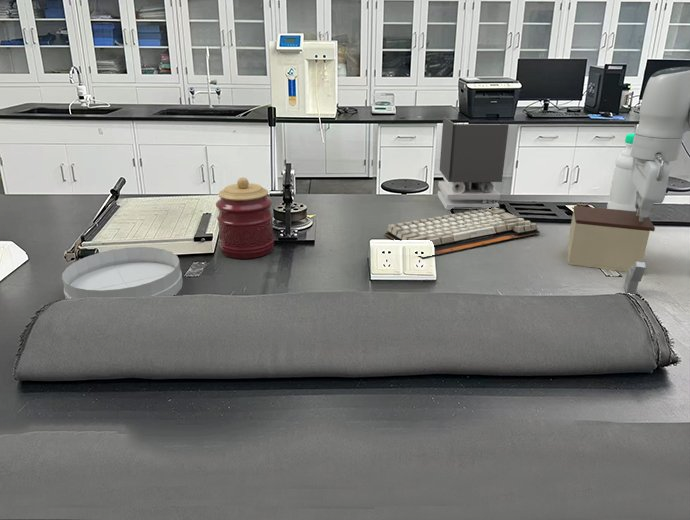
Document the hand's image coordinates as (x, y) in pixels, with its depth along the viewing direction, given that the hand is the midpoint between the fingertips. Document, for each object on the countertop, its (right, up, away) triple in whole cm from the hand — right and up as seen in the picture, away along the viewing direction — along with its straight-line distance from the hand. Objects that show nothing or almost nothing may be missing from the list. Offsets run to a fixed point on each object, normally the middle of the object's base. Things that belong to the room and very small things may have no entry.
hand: (640, 212), depth 117 cm
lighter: (-8, -18, -10) cm, 22 cm away
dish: (-109, -17, -9) cm, 111 cm away
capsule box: (-6, -10, +6) cm, 13 cm away
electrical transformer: (-27, +8, +50) cm, 57 cm away
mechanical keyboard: (-35, -4, +22) cm, 41 cm away
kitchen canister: (-89, -8, +11) cm, 90 cm away
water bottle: (+9, -2, +28) cm, 30 cm away
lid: (-5, -1, +3) cm, 6 cm away
